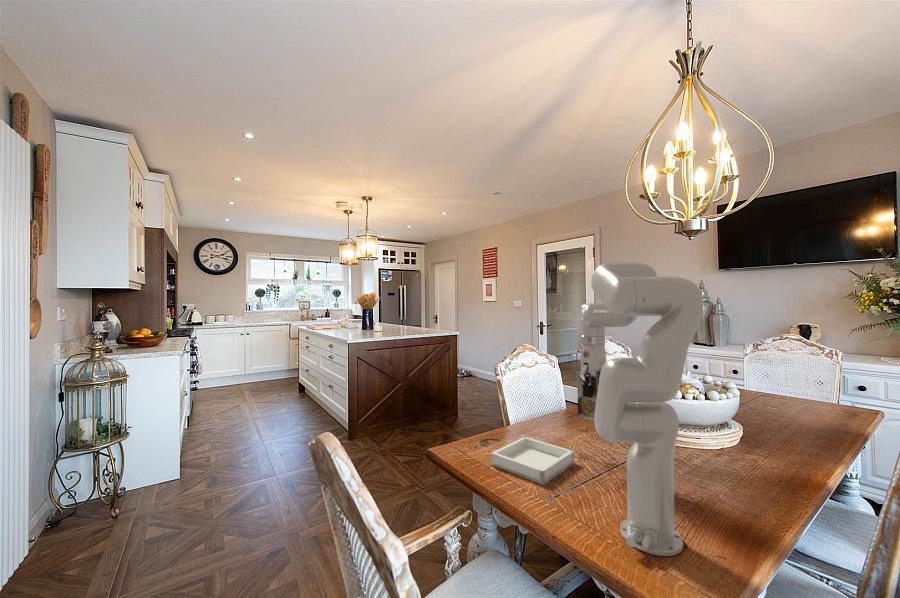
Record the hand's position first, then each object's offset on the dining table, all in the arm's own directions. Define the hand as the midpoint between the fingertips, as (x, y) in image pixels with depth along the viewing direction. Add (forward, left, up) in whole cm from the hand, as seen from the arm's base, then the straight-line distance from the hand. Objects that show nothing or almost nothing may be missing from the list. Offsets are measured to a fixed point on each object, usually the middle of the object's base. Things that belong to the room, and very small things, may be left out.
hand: (593, 394), depth 121 cm
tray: (-13, +15, -24) cm, 31 cm away
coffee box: (0, 0, -8) cm, 8 cm away
